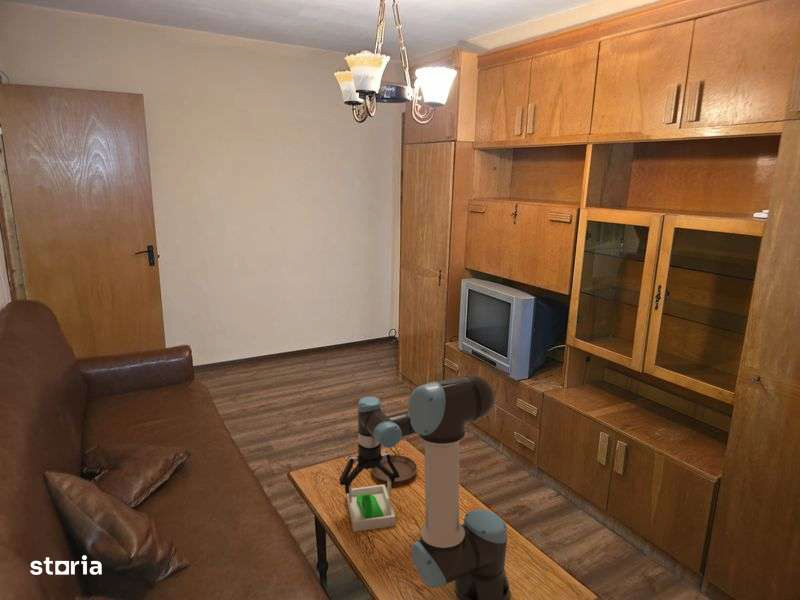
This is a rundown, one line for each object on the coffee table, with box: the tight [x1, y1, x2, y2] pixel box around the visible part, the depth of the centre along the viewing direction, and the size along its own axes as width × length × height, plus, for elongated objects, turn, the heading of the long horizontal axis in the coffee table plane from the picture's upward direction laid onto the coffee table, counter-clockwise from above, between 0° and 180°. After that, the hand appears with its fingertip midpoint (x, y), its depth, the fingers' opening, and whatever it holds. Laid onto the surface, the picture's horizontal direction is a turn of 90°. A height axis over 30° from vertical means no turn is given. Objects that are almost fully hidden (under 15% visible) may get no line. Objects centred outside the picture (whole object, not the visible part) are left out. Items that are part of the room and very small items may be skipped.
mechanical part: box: [357, 494, 383, 519], centre depth 176 cm, size 12×6×8 cm, turn 19°
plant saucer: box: [370, 454, 418, 485], centre depth 199 cm, size 18×18×3 cm
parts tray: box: [345, 483, 396, 533], centre depth 177 cm, size 18×14×4 cm
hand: (369, 498), depth 176 cm, fingers open, 13 cm apart
